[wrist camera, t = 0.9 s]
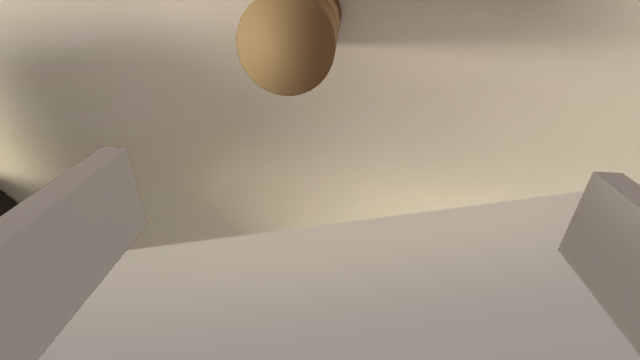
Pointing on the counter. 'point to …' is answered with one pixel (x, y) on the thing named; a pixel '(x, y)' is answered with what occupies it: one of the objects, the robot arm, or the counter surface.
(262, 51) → the oak dowel
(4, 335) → the robot arm
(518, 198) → the counter surface
